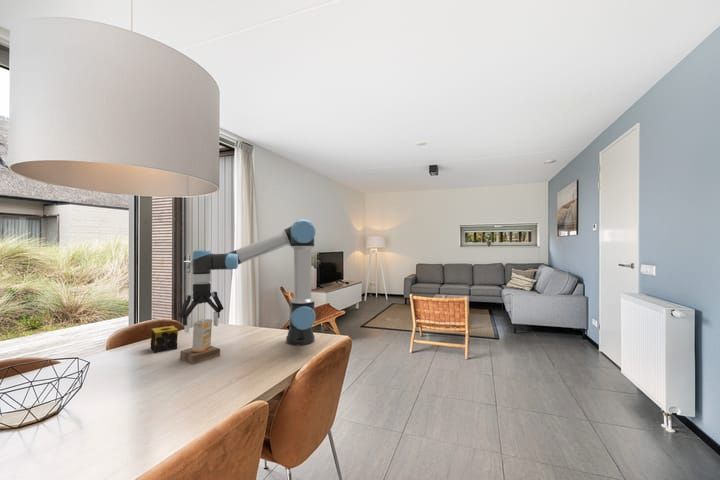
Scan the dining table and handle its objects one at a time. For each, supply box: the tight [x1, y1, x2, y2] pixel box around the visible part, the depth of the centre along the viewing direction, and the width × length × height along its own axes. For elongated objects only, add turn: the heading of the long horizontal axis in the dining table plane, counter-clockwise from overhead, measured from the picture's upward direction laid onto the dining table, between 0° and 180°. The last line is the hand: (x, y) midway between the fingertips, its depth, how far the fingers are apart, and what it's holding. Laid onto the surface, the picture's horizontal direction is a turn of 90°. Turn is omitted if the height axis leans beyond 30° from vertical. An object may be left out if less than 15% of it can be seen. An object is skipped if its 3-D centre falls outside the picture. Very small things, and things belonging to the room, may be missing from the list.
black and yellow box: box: [150, 325, 179, 354], centre depth 155 cm, size 10×10×10 cm
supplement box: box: [191, 318, 213, 352], centre depth 143 cm, size 8×5×13 cm, turn 0°
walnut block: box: [180, 345, 221, 365], centre depth 143 cm, size 12×12×4 cm
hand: (201, 328), depth 144 cm, fingers open, 13 cm apart
